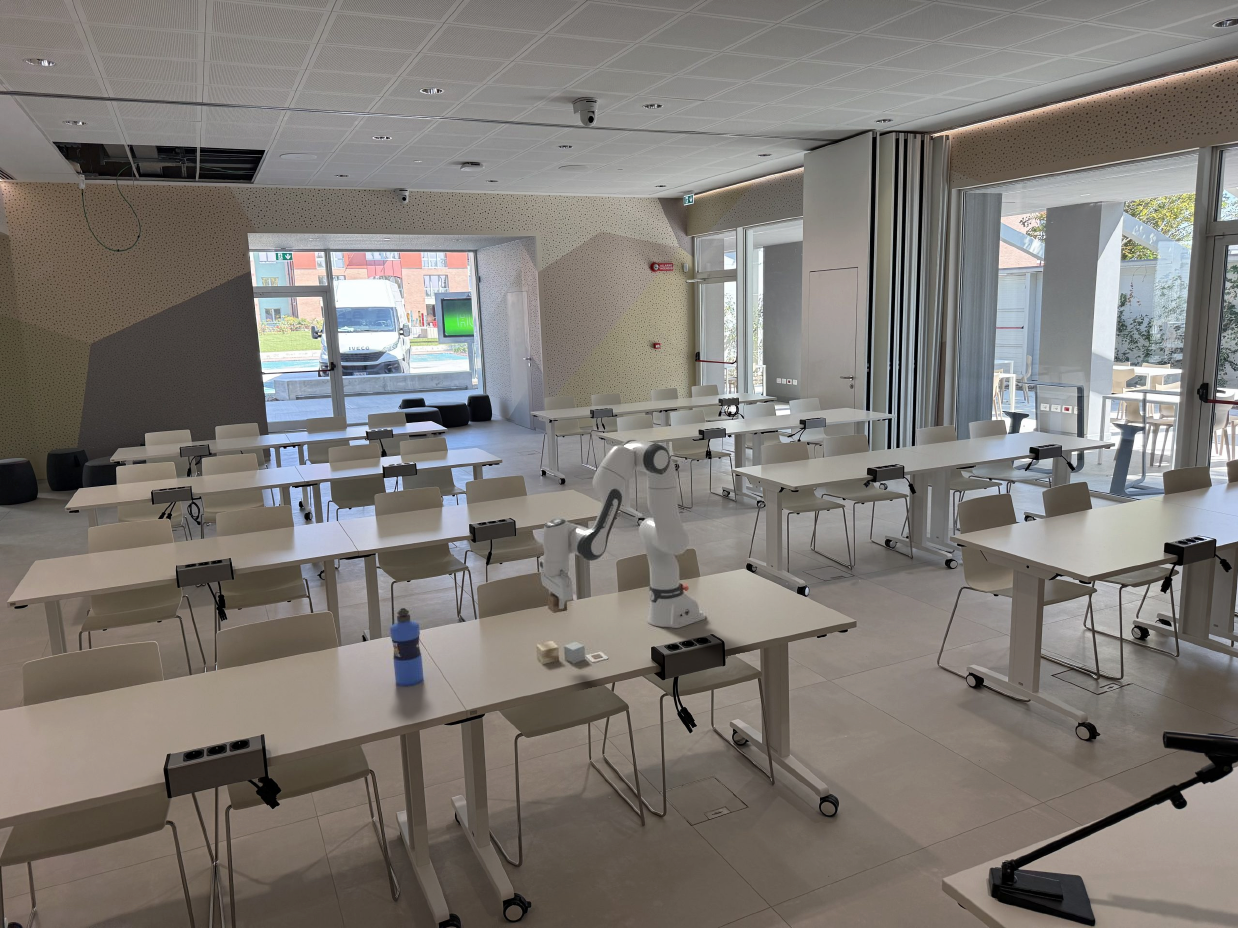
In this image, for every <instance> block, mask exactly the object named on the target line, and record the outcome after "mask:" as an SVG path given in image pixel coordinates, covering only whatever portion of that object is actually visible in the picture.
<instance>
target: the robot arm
mask: <svg viewBox="0 0 1238 928" xmlns="http://www.w3.org/2000/svg"><path fill="white" fill-rule="evenodd" d="M675 468H676V466H675V463H674V461H673V460H672V458H671V457H670V453H669V450H668V449H667V448H666V447H665V446H664V445H663V444H660V443H656V442H652V441H648V440H636V439H629V440H625V441H624V442H623V443H621V444H620V445H615V446H613V447H612V448H611V449H610V450H609V451H608V453H607V454H606V455H605V457H604V458H603V460H602V461H601V463H600V464H599V466H598V468H597V470H596V471H595V473H594V476H593V478H592V488H593V491H594V493H595V494H596V495H597V496H598V498H599V499H600V501H601V506H600V510H599V512H598V515H597V517H596V520H595V522H594V524H593V526H592V527H590V528H588V527H585V526H583V525H578V524H575V523H571V522H568V521H567V520H566V519H563V518H553V519H551V520H549V521H547V522H546V523H545V524H544V527H543V530H542V531H543V533H542V547H543V551H544V552H543V557H542V558H543V559H542V560H539V561H538V565H539V568H540V580H541V584H542V586H543V587H545V588H546V589H547V590H548V593H549V594H555V595H556V596H558V599H559V603H558V607H559V608H560V609H562V608H564V603H565V601H566V600H567V601H570V600H573V598H574V591H573V590H574V589H573V580H572V578H571V577H570V576H569V575H568V573H569V572H570V555H571V554H575V555H577V556H580V557H581V558H584V559H585V560H587V561H590V562H592V561H596V560H598V559H600V558H602V556H604V553H605V552H606V550H607V547H608V542H609V537H610V533H611V531H612V529H613V527H614V524H615V521H616V519H617V516H618V514H619V511H620V508H621V506H622V502H623V494H622V493H623V491H624V487H625V485H626V483H627V481H628V479H629V477H630V475H631V474H632V472H633V471H637V472H644V473H646V497H647V508H648V510H649V512H650V514H651V516H652V517H647V518H645V519H644V520H643V521H641V523H640V525H639V527H638V535H639V537H640V539H641V540H642V543H643V545H644V549H645V552H646V557H647V560H648V567H649V568H648V569H649V582H650V583H649V585H648V589H649V590H648V591H649V602H650V603H649V609H648V610H649V611H648V616H647V618H646V619H647V620H646V621H647V623H648V624H649V625H652V626H656V627H661V628H672V629H679V628H681V627H684V626H685V627H686V626H688V625H691V624H694V623H696V622H700V621H702V620H705V619H706V617H707V616H706V614H705V612H704V611H702V609H700V606H699V603H698V601H697V600H696V599H695V598H694V597H692V596H691V595H689V594H688V593H686V592H687V591H689V586H688V585H686V584H683V583H681V582H680V565H679V563H678V560H677V558H676V557H675V556H679V555H683V553H684V552H686V550H687V549H688V547H689V544H690V539H689V538H690V537H689V535H688V533H687V532H686V530H685V528H684V526H683V523H682V518H681V515H680V512H679V511H680V510H679V505H678V490H677V489H678V485H677V484H678V482H677V481H678V480H677V473H676V469H675Z"/></svg>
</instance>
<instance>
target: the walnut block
mask: <svg viewBox="0 0 1238 928" xmlns="http://www.w3.org/2000/svg"><path fill="white" fill-rule="evenodd" d="M558 603H559V599H558V596H556V595H555V594H550V593H549V594H547V609H548V610H549V611H550V612H552V613H553V614H556V613H561V612H567V611H568V600H566V601H565V603H564V608H562V609H560V608H559V607H558Z"/></svg>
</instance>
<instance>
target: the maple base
mask: <svg viewBox="0 0 1238 928" xmlns="http://www.w3.org/2000/svg"><path fill="white" fill-rule="evenodd" d="M535 646H536V648H535V649H536V658H537V659H538V661H540V662H541V664H542V665H544V664H548V663H552V662H558V661H560V651H559V649H560V648H559V646H558V645H557V644H556V643H555V642H554V641H553V640H550V641H545V642H542V643H537V644H536V645H535Z"/></svg>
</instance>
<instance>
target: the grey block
mask: <svg viewBox="0 0 1238 928" xmlns="http://www.w3.org/2000/svg"><path fill="white" fill-rule="evenodd" d="M585 648H586V647H585V645H584V644H583V643H582V644H581V643H579V642H577V641H573V642H570V643H568V644H565V645H563V652H564V660H566V661H568V662H570V663H572V664H576V663H578V662H580V661H583V660H586V653H585V650H586V649H585Z"/></svg>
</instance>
